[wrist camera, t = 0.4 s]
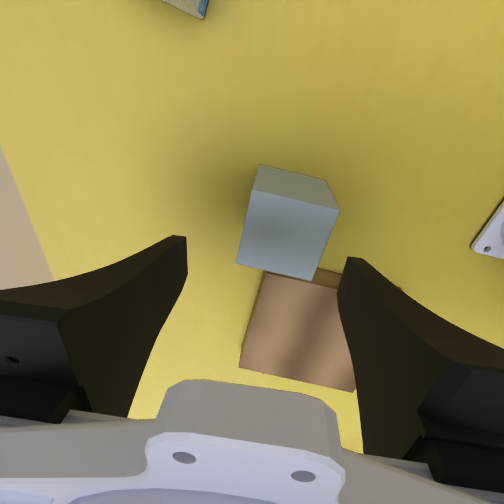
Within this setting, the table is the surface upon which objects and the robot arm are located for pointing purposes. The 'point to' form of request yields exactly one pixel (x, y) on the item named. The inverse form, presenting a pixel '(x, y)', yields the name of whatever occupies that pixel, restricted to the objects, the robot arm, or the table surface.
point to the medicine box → (190, 6)
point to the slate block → (287, 223)
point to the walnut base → (299, 331)
